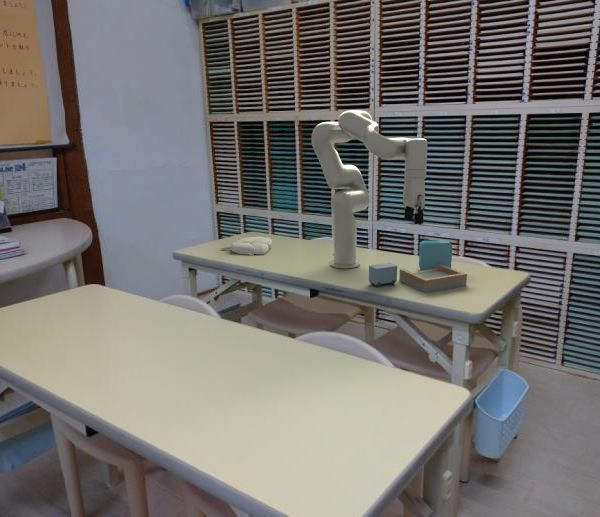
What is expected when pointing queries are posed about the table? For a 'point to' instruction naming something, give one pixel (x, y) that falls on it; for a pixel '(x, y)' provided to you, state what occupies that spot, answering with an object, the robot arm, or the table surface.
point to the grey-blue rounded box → (382, 274)
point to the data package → (434, 254)
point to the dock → (434, 278)
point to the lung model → (250, 245)
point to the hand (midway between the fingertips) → (413, 221)
